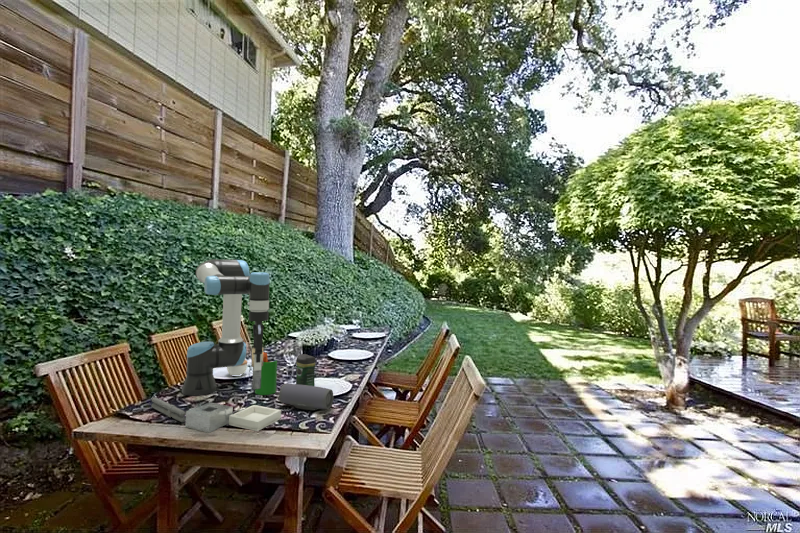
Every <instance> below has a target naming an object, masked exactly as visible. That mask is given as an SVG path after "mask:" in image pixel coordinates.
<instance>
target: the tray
mask: <svg viewBox="0 0 800 533" xmlns="http://www.w3.org/2000/svg"><path fill="white" fill-rule="evenodd" d="M281 418H282V409H278V408H277V409H276V408H272V407H266V406H261V405H257V404H253V405H251V406H248V407H246V408H244V409H241V410H239V411H237V412H235V413H233V414H232V415H230V416H229V424H228V425H229V426H233V427H237V428H242V429H246V430H250V431H255V432H259V431H260V430H262V429H265V428H266V427H268V426H270V425H272V424H274V423H275V422H277V421H279V420H281Z"/></svg>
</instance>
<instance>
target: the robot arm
mask: <svg viewBox="0 0 800 533" xmlns="http://www.w3.org/2000/svg"><path fill="white" fill-rule="evenodd" d="M195 276H196V278H197V280H198V281H199V282H200V283H203V285H204V286H203V287H204V293H205V294H206V295H209V296H210V295H211V296H212V295H213V296H217V295H218V296H219V295H223V297H222V298H223V300H222V301H223V304H222V320H221V323H222V326H221V328H222V329H221V337H220V338H219V339H218V341H217V343H216V344H215V343H214V341H200V342H196V343H193V344H191V345H189V346H188V348H187V350H186V351H187V352H186V376H185V380H184V383H183V386H182V387H181V394H183V395H185V396H194V397H196V396H204V395H208V394H212V393H214V392H216V390H217V383H216V380H215V377H214V369H218V368H220V369H221V368H227V367H230V366H232V367H234V366H238V365H241V364H242V363H243V362H244V360H246V356H247V344H246V342H244V339H243V338H242V337H241V321H242V303H243V300H242V299H243V298H242V297H243V295H249V296H248V297H249V302H247V305H248V310H249V311H248V321H250V322H254V324H253V325H252V330H253V333H252V334H253V346H252V348H255V353H253V354H254V371H257V370H261V363H262V348H263V337H264V329H265V325H264V324H263V322H267V321H268V320H269V309H270V282H271V280H270V273H268V272H258V271H257V272H254V271H253V272H251V273H250V268H249V265H248V263H247V261H245V260H242V259H241V260H240V259H219V258H218V259H217V258H215V259H207V260H205V261H203V262H202V263H200V264H199V265H198V266H197V267H196V269H195Z"/></svg>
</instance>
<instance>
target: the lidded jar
mask: <svg viewBox="0 0 800 533" xmlns="http://www.w3.org/2000/svg"><path fill="white" fill-rule="evenodd" d="M247 367H248V360H246V359H245V360H244V362H243V363H242V364H241V365H238V366H234V367H232V366H230V367H226V370H227V372H228V375H230V376H231V375H240V374H243V373H244V374H245V372H246V371H247ZM244 374H243V375H244Z"/></svg>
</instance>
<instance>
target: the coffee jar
mask: <svg viewBox="0 0 800 533" xmlns="http://www.w3.org/2000/svg"><path fill="white" fill-rule="evenodd" d="M295 360H296V361H295V363H296V377H295V378H296V380H295V384H299V385H309V386H316V385H315V367H316V357H314V356H312V355H308V354H306V353H304V354H303V353H302V354H298V355H297V356H296V359H295Z"/></svg>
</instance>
